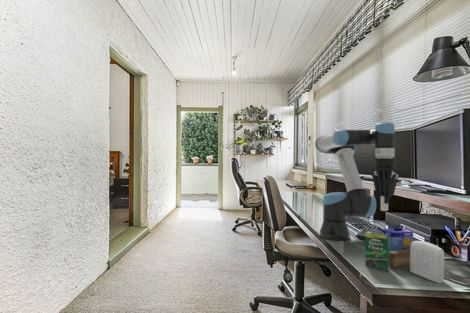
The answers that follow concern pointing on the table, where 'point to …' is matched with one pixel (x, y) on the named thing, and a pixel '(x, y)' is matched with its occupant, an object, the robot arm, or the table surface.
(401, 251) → the walnut fence board
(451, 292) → the table surface
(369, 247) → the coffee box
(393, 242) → the ink cartridge box
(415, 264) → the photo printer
